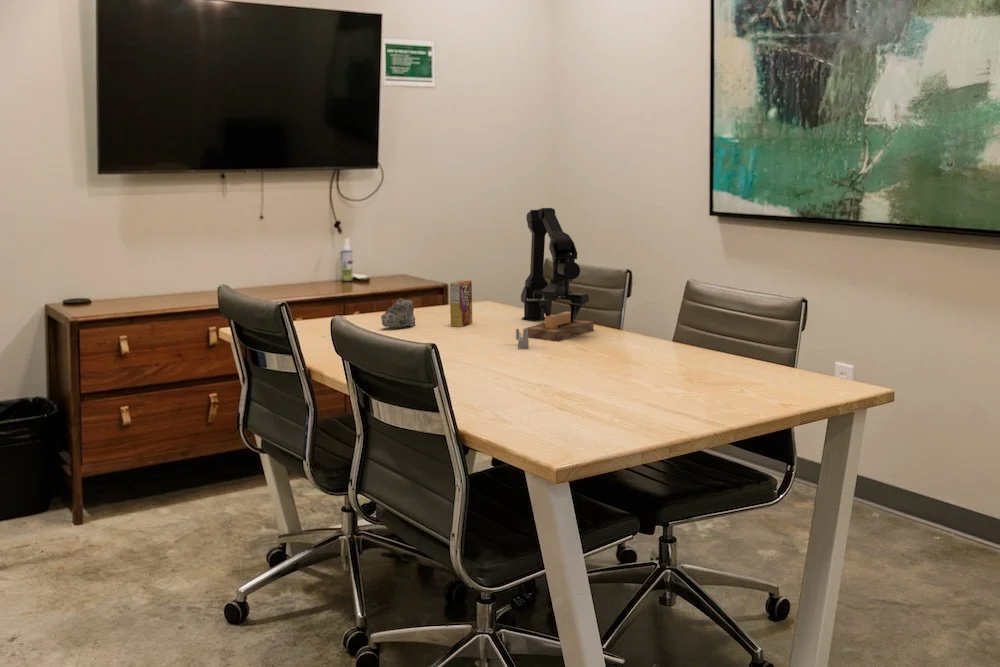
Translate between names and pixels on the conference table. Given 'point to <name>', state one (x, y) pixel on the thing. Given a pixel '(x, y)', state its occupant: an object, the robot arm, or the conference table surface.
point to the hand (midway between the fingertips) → (560, 321)
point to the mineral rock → (399, 314)
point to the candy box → (461, 303)
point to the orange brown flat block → (558, 320)
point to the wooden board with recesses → (560, 330)
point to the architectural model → (522, 339)
